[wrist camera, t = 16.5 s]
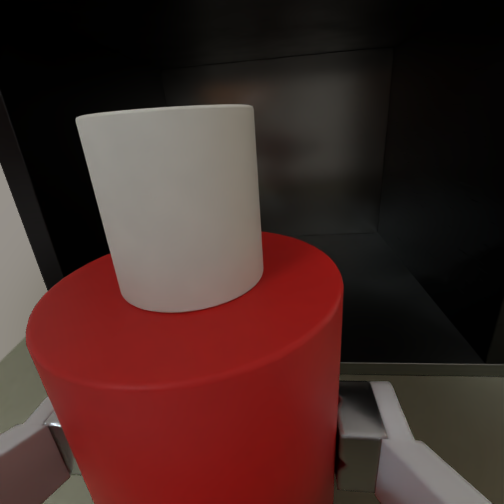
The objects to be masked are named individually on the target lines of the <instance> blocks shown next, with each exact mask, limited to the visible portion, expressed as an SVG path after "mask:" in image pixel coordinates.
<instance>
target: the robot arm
mask: <svg viewBox="0 0 504 504" xmlns="http://www.w3.org/2000/svg"><path fill="white" fill-rule="evenodd" d="M70 475H82V474H81V471H80V469H79V467H78V464H77V462H76V460H75V457H74V455H73V453H72V450H71V448H70V446H69V443H68V441H67V439H66V436H65V434H64V432H63V429H62V427H61V425H60V422H59V420H58V418H57V415H56V413H55V411H54V408H53V406H52V404H51V401H50V399H49V397H48V396H47V397H46V398H45V400H44V401H43V402H42V403H41V404H40V405H39V407H38V408H37V409H36V410H35V411H34V412H33V413H32V415H31V416H30V417H29V418H28V419H27V420H26V421H25V423H24V424H17V425H15V426H14V427H12V428H10V429H9V430H7V431H6V432H4V433H2V434H1V435H0V504H42V503H43V502H44V501H45V500H46V499H47V498H48V497H49V496H50V495H51V494H53V493H54V492H55V491H56V490H57V489H58V488H59V487H60V486H61V485H62V484H63V483H64V482H65V481H66V480H68V479H69V478H70ZM335 476H336V483H337V489H338V490H346V491H357V492H368V493H375V496H376V498H377V499H378V500H379V502H380V503H381V504H492V503H491V502H490V501H489V500H488V499H487V498H486V497H485V496H483V495H482V494H481V493H480V492H479V491H478V490H477V489H476V488H474V487H473V486H472V485H471V484H470V483H469V482H468V481H467V480H465V479H464V478H463V477H462V476H461V475H460V474H459V473H458V472H456V471H455V470H454V469H453V468H452V467H451V466H450V465H449V464H447V463H446V462H445V461H444V460H443V459H442V458H441V457H440V456H438V455H437V454H436V453H435V452H434V451H433V450H432V449H430V448H429V447H428V446H427V445H426V444H425V443H424V442H423V441H419V440H415V439H414V437H413V435H412V432H411V430H410V427H409V425H408V422H407V420H406V418H405V415H404V413H403V410H402V408H401V405H400V403H399V401H398V398H397V396H396V393H395V391H394V389H393V386H392V384H391V383H390V382H389V381H369V382H368V381H339V395H338V415H337V435H336V456H335Z"/></svg>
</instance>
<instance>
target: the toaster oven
mask: <svg viewBox="0 0 504 504" xmlns="http://www.w3.org/2000/svg"><path fill="white" fill-rule="evenodd" d="M221 104H241V105H250V106H253V109H254V122H255V138H256V154H257V170H258V187H259V203H260V219H261V231H262V232H270V233H275V234H280V235H285V236H288V237H292V238H295V239H298V240H301V241H304V242H306V243H308V244H310V245H313V246H315V247H316V248H318V249H319V250H321V251H323V252H324V253H325V254H326V255H328V256H329V257H330V258H331V259H332V260H333V262H334V263H335V264H336V266H337V267H338V269H339V271H340V273H341V276H342V280H343V284H344V293H343V313H342V334H341V354H340V374H381V375H443V376H504V0H0V163H1V166H2V169H3V171H4V174H5V177H6V180H7V182H8V185H9V188H10V190H11V193H12V196H13V198H14V201H15V204H16V207H17V209H18V212H19V214H20V217H21V220H22V223H23V225H24V228H25V231H26V234H27V236H28V239H29V242H30V244H31V247H32V250H33V252H34V255H35V258H36V261H37V263H38V266H39V269H40V271H41V274H42V277H43V279H44V282H45V285H46V288H47V290H48V291H49V290H50V289H51V288H52V287H53V286H54V285H55V284H57V283H58V282H59V281H61V280H62V279H63V278H65V277H66V276H68V275H69V274H71V273H72V272H74V271H75V270H77V269H79V268H81V267H82V266H84V265H86V264H88V263H90V262H92V261H94V260H96V259H98V258H100V257H102V256H105V255H107V254H110V250H109V246H108V242H107V238H106V234H105V231H104V227H103V223H102V219H101V216H100V212H99V208H98V204H97V200H96V197H95V193H94V189H93V185H92V182H91V178H90V174H89V170H88V166H87V163H86V159H85V155H84V151H83V147H82V144H81V140H80V136H79V132H78V129H77V125H76V118H77V117H79V116H82V115H87V114H94V113H102V112H111V111H121V110H132V109H145V108H159V107H174V106H193V105H221Z"/></svg>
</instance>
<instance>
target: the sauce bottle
mask: <svg viewBox="0 0 504 504" xmlns="http://www.w3.org/2000/svg"><path fill="white" fill-rule="evenodd" d="M76 125H77V129H78V132H79V136H80V140H81V144H82V147H83V151H84V155H85V159H86V163H87V166H88V170H89V174H90V178H91V182H92V185H93V189H94V193H95V197H96V200H97V204H98V208H99V212H100V216H101V219H102V223H103V227H104V231H105V234H106V238H107V242H108V246H109V250H110V254H107V255H105V256H102V257H100V258H98V259H96V260H94V261H92V262H90V263H88V264H86V265H84V266H82V267H81V268H79V269H77V270H75V271H74V272H72V273H71V274H69V275H68V276H66V277H65V278H63V279H62V280H61V281H59V282H58V283H57V284H55V285H54V286H53V287H52V288H51V289H50V290H49V291H48V292H47V293H46V294H45V295H44V296H43V297H42V298H41V299H40V301H39V302H38V303H37V304H36V306H35V307H34V309H33V311H32V313H31V315H30V317H29V320H28V324H27V329H26V345H27V347H28V350H29V352H30V355H31V357H32V359H33V362H34V364H35V366H36V369H37V371H38V373H39V376H40V378H41V380H42V383H43V385H44V387H45V390H46V392H47V394H48V397H49V399H50V401H51V404H52V406H53V408H54V411H55V413H56V415H57V418H58V420H59V422H60V425H61V427H62V429H63V432H64V434H65V436H66V439H67V441H68V443H69V446H70V448H71V450H72V453H73V455H74V457H75V460H76V462H77V464H78V467H79V469H80V471H81V474H82V476H83V478H84V481H85V483H86V485H87V488H88V490H89V492H90V495H91V497H92V499H93V502H94V504H333V498H334V477H335V456H336V435H337V415H338V395H339V375H340V354H341V334H342V313H343V293H344V284H343V280H342V276H341V273H340V271H339V269H338V267H337V266H336V264H335V263H334V262H333V260H332V259H331V258H330V257H329V256H328V255H326V254H325V253H324V252H323V251H321V250H319V249H318V248H316V247H315V246H313V245H310V244H308V243H306V242H304V241H301V240H298V239H295V238H292V237H288V236H285V235H280V234H275V233H270V232H262V231H261V219H260V203H259V187H258V170H257V154H256V138H255V122H254V109H253V106H250V105H241V104H221V105H193V106H174V107H159V108H145V109H132V110H121V111H111V112H102V113H94V114H87V115H82V116H79V117H77V118H76Z"/></svg>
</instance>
